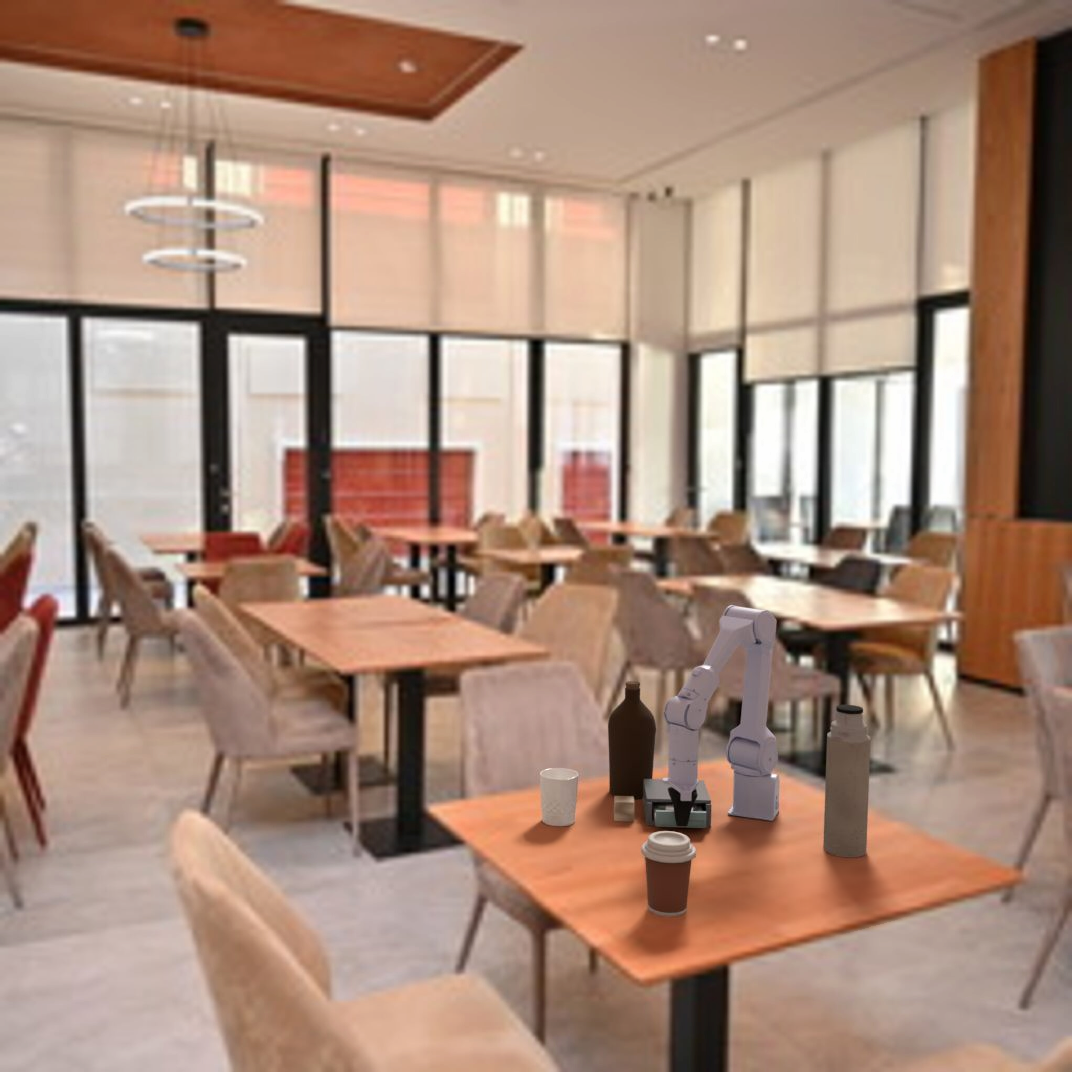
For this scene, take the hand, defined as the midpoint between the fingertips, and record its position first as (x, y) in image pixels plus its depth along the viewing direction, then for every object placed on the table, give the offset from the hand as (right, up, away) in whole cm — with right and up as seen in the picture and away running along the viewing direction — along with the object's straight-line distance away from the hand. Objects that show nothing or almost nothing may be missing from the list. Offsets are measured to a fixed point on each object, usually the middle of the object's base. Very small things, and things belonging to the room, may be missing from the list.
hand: (681, 825), depth 211 cm
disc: (0, 0, +6) cm, 6 cm away
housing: (+1, -1, +13) cm, 13 cm away
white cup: (-24, -2, +8) cm, 26 cm away
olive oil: (-8, 0, +27) cm, 28 cm away
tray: (0, 0, +7) cm, 7 cm away
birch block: (-11, -1, +10) cm, 15 cm away
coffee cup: (-7, -5, -34) cm, 35 cm away
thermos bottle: (+31, -3, -6) cm, 31 cm away
